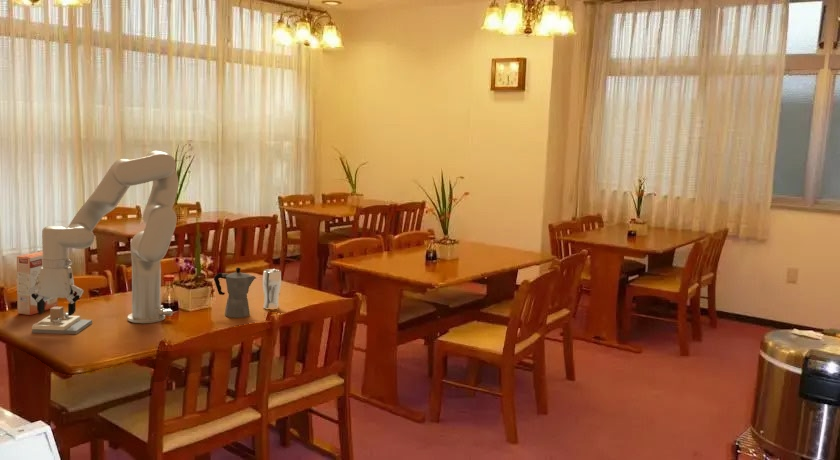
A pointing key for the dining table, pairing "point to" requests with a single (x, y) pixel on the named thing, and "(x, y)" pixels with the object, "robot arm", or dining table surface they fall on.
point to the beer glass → (271, 287)
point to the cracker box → (30, 283)
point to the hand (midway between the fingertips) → (56, 313)
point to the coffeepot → (236, 292)
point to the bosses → (60, 318)
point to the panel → (50, 325)
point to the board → (70, 330)
